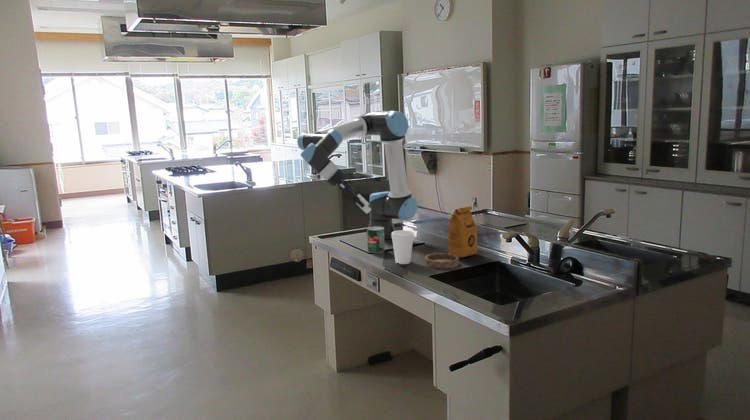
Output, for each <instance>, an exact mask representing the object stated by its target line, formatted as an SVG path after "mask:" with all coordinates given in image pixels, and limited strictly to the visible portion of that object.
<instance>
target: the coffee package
mask: <svg viewBox="0 0 750 420" xmlns="http://www.w3.org/2000/svg"><path fill="white" fill-rule="evenodd" d="M472 210H473V207H472V205H469V206H464V207H459V208H455V209H454V211H453V213H452V216H451V218H450V220H449V224H448V235H447V236H448V239H447V240H448V254H453V255H456V256H458V257H459V258H466V257H470V256H473V255H476V254H477V252H478V229H477V224H476V222H475V220H474V218H473V214H472V212H471V211H472Z"/></svg>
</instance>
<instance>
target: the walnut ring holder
mask: <svg viewBox="0 0 750 420" xmlns="http://www.w3.org/2000/svg"><path fill="white" fill-rule="evenodd" d="M424 263H425V266H426V267H429V268H432V269H440V270H443V269H446V270H447V269H453V268H456V267H458V266H459V263H460V257H458V256H456V255H453V254H449V253H445V252H439V253H438V252H435V253H430V254H426V256H424Z"/></svg>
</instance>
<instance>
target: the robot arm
mask: <svg viewBox="0 0 750 420" xmlns="http://www.w3.org/2000/svg"><path fill="white" fill-rule="evenodd" d="M408 130H409V121H408V118H407V116H406V115H405V114H404V113H403V112H402V111H397V110H376V111H371V112H368V113H365V114H361V115H358V116H356V117H354V119H353V120H350V121H347V122H343V123H340V124H336V125H333V126H330V127H326V128H324V129H320V130H316V131H313V132H310V133H308V132H305V133H301V134H300V135H299V136H298V138H297V140H296V141H297V146H298V148H299V149H300V150H302V152H301V153H300V157H301V158H302V159H303V161H305V163H307V164H308V166H310V167H311V168H313V170H314V171H315V172H316V173H318V175H319V177H320V178H323V179H324V180H326V182H327V183H328V184H329V185H330V186H331V187H335V186H337V185H338V188H339V189H340V190H341V191H342V192H343V193H344V194H345V195H347V197H348V198H349V199H350V200H351V201H352V204H353V205H357V206H358V207H359V208H360V209H361V210H362V211H363V212H364V213H365V214H367V215H368V214H369V224H368V227H373V226H380V227H384V240H388V239H389V240H390V239H392V232H394V231H396V228H395V225H394V223H393V219H394V220H397V221H403V222H404V221H410V220H412V219H413V218H414V217H415V216H416V214H417V212H418V207H419V206H418V201H417V200H416V199H415V197H413V196H412V191H411V190H410V189H408V181H407V174H406V173H407V171H406V164H405V156H404V147H403V141H404V140H405V139H406V138H405V135H406V134H407V133H408ZM364 136H379V137H380V138H379V139H380V140H379V141H380V142H381V143H382V144H383V145H384V146H383V147H384V151H385V160H386V168H387V174H388V176H387V177H388V182H389V191H381V192H380V191H379V192H373V193H371V194H370V195H369V202H368V201H367V200H366V199H365V198H364V197H363V196H362V195H361V194H360V191H359V190H356V189H355V188H354V187H353V186H352V185H351V184H350V183H349V182H348V181H347V180H346V179H344V177H345V173H344V172H343V171H342V170H341V169H340V168H338V166H337V165H336V163H334V162H333V161H332V160H331V159H330V158H329V157H330V156H331V155H333V153H334V152H335V151H336V150H337V149H338V148H339V147H340V145H341V144H342V143H343V141H345V140H348V139H352V138H355V137H361V138H362V137H364ZM366 237H367V238H368V233H367V232H366Z"/></svg>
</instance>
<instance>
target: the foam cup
mask: <svg viewBox="0 0 750 420" xmlns="http://www.w3.org/2000/svg"><path fill="white" fill-rule="evenodd" d="M414 235H415V232H413V231H412V230H403V229H402V230H400V229H399V230H395V231H394V232H392V238H391V239H392V247H393V248H392V249H393V254H394V260H395V264H397V263H399V264H398V265H407V264H410V263H411V258H412V254H413V253H412V251H413V242H414V237H415V236H414Z"/></svg>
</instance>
